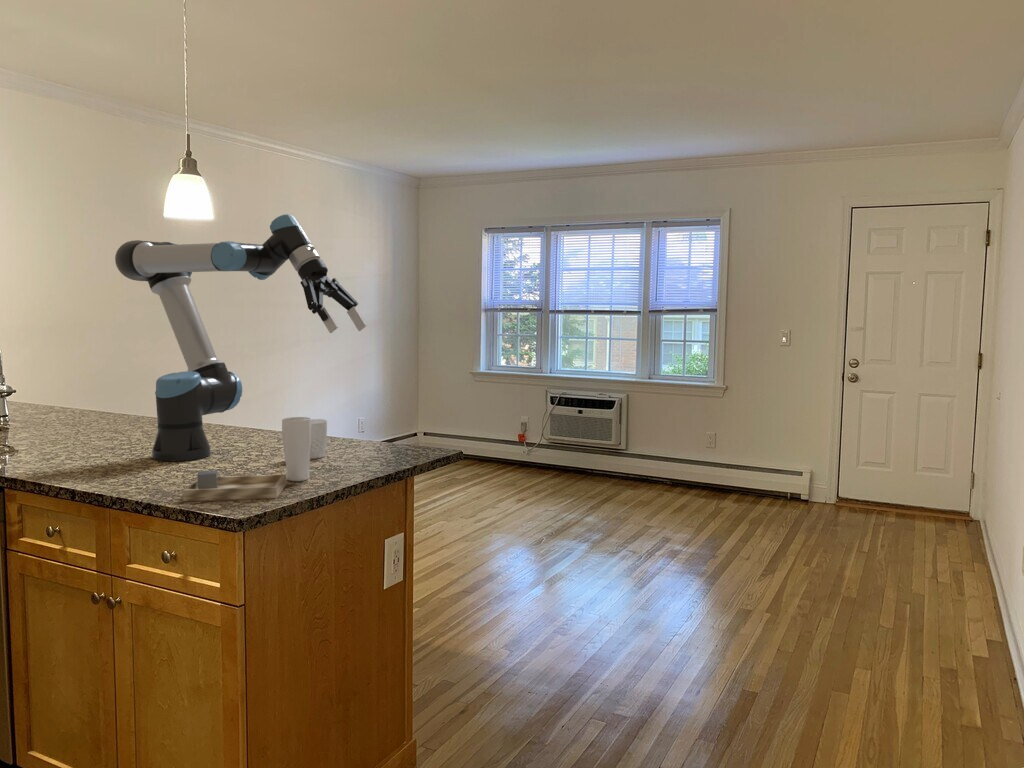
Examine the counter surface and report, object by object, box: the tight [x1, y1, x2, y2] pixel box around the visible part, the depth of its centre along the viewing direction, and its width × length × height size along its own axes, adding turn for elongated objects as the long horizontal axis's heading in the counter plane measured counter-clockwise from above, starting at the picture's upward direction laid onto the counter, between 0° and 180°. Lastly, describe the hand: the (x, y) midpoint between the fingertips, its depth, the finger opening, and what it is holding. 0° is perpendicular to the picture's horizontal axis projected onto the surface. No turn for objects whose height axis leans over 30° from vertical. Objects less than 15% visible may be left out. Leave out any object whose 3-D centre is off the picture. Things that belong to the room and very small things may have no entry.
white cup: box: [310, 418, 328, 460], centre depth 223 cm, size 8×8×10 cm
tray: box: [182, 474, 288, 502], centre depth 182 cm, size 20×13×2 cm, turn 97°
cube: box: [196, 469, 219, 489], centre depth 181 cm, size 4×4×4 cm
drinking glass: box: [281, 416, 311, 482], centre depth 194 cm, size 7×7×15 cm
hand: (349, 329), depth 215 cm, fingers open, 13 cm apart
